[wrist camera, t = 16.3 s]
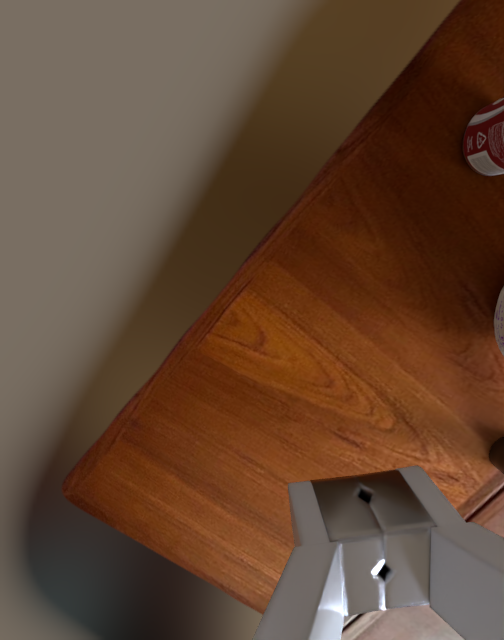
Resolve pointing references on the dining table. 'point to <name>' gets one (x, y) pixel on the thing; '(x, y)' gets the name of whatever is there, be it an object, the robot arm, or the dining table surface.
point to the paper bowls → (499, 321)
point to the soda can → (486, 140)
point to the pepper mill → (498, 454)
